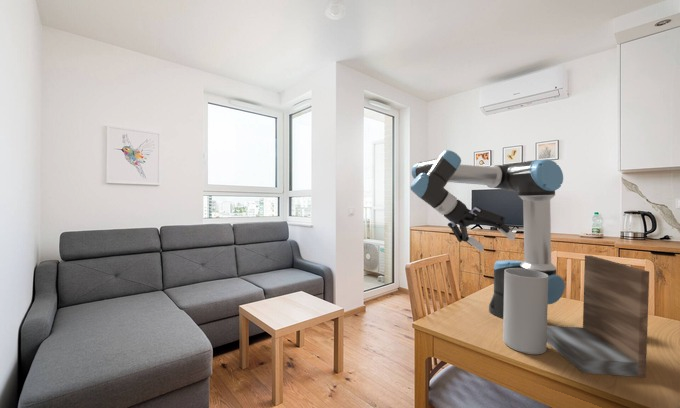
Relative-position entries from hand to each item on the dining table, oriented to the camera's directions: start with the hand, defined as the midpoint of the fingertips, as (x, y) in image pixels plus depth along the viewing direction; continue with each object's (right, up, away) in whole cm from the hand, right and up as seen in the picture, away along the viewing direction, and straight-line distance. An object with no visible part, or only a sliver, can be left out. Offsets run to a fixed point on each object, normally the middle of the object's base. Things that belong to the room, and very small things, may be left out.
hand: (497, 243), depth 101 cm
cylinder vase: (+8, -35, -3) cm, 35 cm away
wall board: (+24, -35, -8) cm, 43 cm away
